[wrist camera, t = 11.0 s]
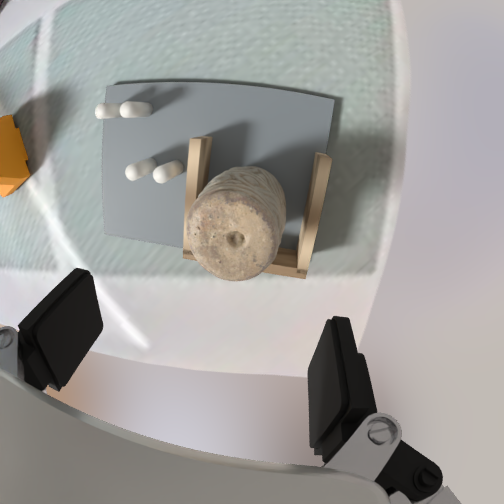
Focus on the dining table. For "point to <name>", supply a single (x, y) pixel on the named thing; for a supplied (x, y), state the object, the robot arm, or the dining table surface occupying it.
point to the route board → (222, 150)
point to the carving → (237, 223)
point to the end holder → (299, 259)
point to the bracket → (11, 157)
